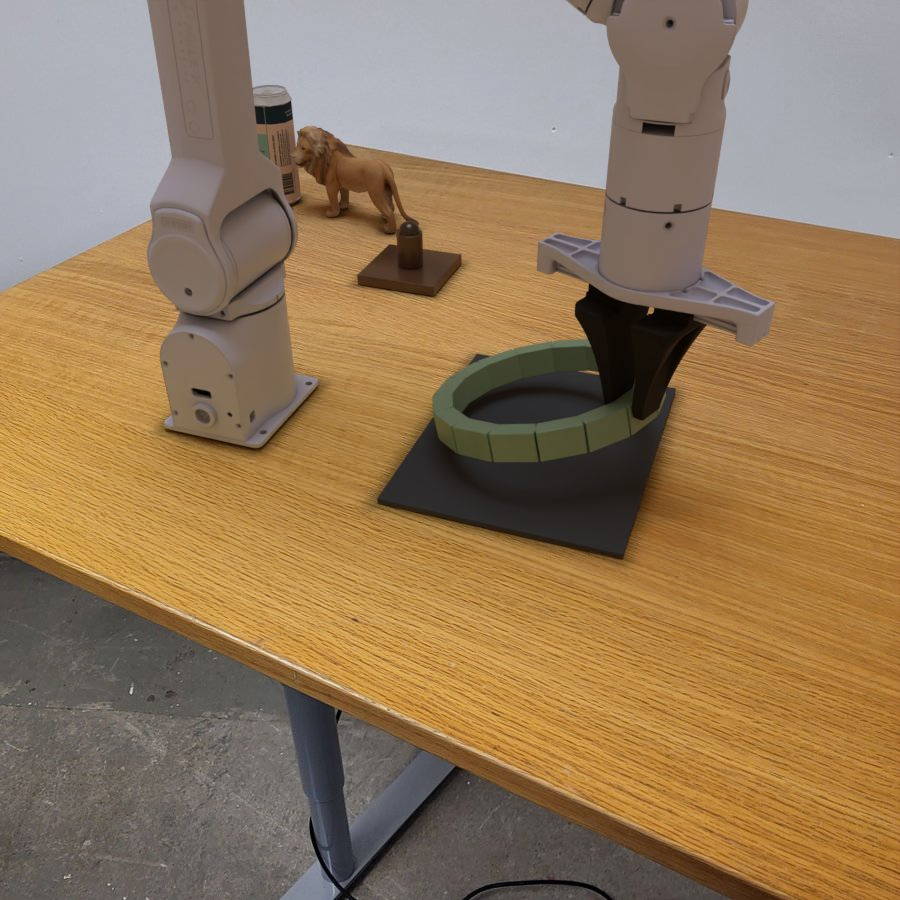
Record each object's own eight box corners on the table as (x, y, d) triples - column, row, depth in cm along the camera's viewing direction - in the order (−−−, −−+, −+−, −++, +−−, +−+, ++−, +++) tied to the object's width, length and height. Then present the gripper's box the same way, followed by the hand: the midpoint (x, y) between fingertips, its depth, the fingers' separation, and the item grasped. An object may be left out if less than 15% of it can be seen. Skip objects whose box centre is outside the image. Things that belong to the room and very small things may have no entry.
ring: (640, 462, 54) (636, 431, 53) (403, 463, 60) (396, 435, 60) (680, 359, 67) (678, 333, 66) (480, 368, 73) (476, 344, 72)
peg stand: (433, 296, 85) (432, 242, 82) (357, 284, 87) (353, 231, 84) (461, 263, 90) (461, 212, 87) (389, 253, 93) (387, 202, 90)
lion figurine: (289, 214, 101) (279, 130, 96) (317, 199, 105) (309, 117, 100) (407, 238, 95) (403, 150, 90) (431, 221, 99) (430, 135, 94)
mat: (622, 559, 56) (623, 554, 56) (377, 503, 60) (376, 498, 60) (675, 392, 71) (676, 388, 71) (476, 357, 76) (476, 353, 75)
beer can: (306, 193, 106) (295, 84, 99) (296, 209, 102) (284, 96, 95) (265, 192, 107) (251, 83, 100) (253, 208, 103) (238, 95, 96)
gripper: (819, 206, 49) (769, 422, 57) (591, 148, 57) (575, 345, 65) (754, 247, 44) (710, 474, 52) (518, 178, 53) (511, 384, 60)
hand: (631, 406), depth 58 cm, fingers closed on ring, 1 cm apart
